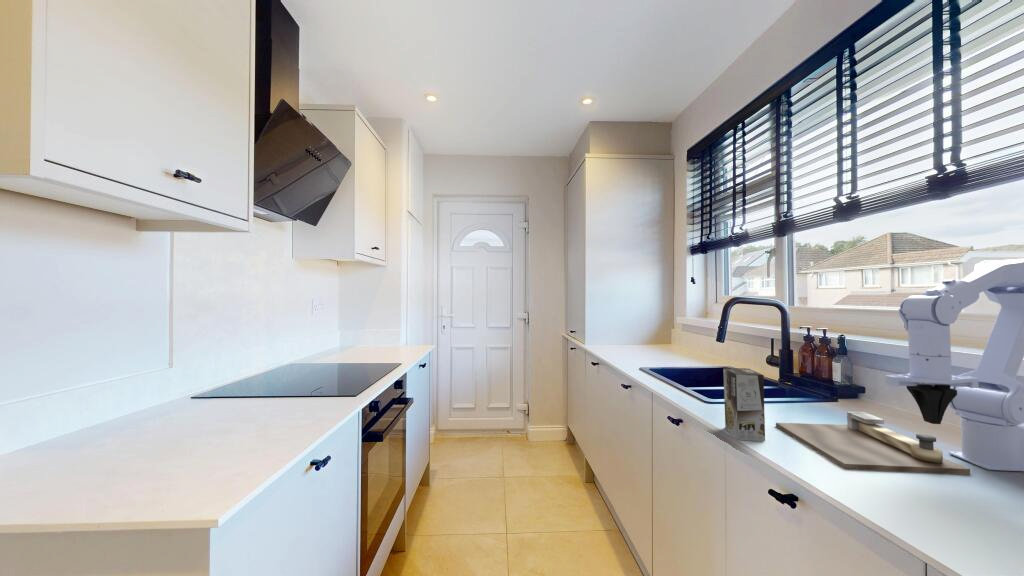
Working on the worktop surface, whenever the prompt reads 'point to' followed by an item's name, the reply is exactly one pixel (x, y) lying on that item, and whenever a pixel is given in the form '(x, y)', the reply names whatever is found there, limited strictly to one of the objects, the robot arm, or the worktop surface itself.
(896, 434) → the link
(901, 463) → the base board
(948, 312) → the robot arm
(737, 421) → the coffee box
